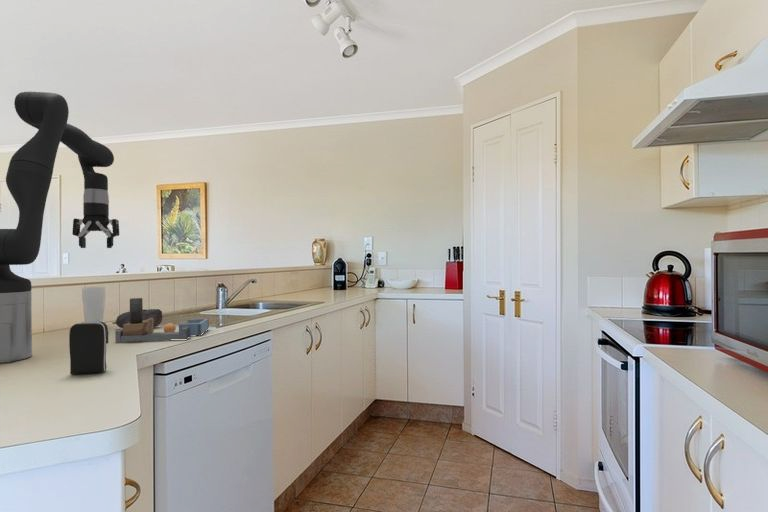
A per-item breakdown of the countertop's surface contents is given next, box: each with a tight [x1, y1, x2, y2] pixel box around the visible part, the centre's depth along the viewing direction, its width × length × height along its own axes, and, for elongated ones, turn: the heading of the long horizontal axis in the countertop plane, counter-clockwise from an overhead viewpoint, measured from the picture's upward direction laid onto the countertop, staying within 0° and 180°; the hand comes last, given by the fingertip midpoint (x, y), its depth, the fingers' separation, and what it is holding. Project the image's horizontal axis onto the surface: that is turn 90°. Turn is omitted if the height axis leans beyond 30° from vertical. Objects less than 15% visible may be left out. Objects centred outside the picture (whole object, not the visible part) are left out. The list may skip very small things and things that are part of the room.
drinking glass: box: [81, 286, 106, 322], centre depth 151 cm, size 7×7×15 cm
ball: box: [163, 322, 176, 332], centre depth 142 cm, size 4×4×4 cm
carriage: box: [122, 297, 154, 335], centre depth 136 cm, size 16×5×13 cm, turn 9°
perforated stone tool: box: [115, 308, 164, 329], centre depth 153 cm, size 15×5×7 cm, turn 98°
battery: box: [68, 321, 109, 375], centre depth 96 cm, size 7×4×11 cm, turn 102°
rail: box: [114, 327, 191, 344], centre depth 132 cm, size 4×20×4 cm, turn 99°
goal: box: [178, 318, 210, 336], centre depth 143 cm, size 11×7×4 cm, turn 9°
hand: (96, 248), depth 152 cm, fingers open, 8 cm apart
